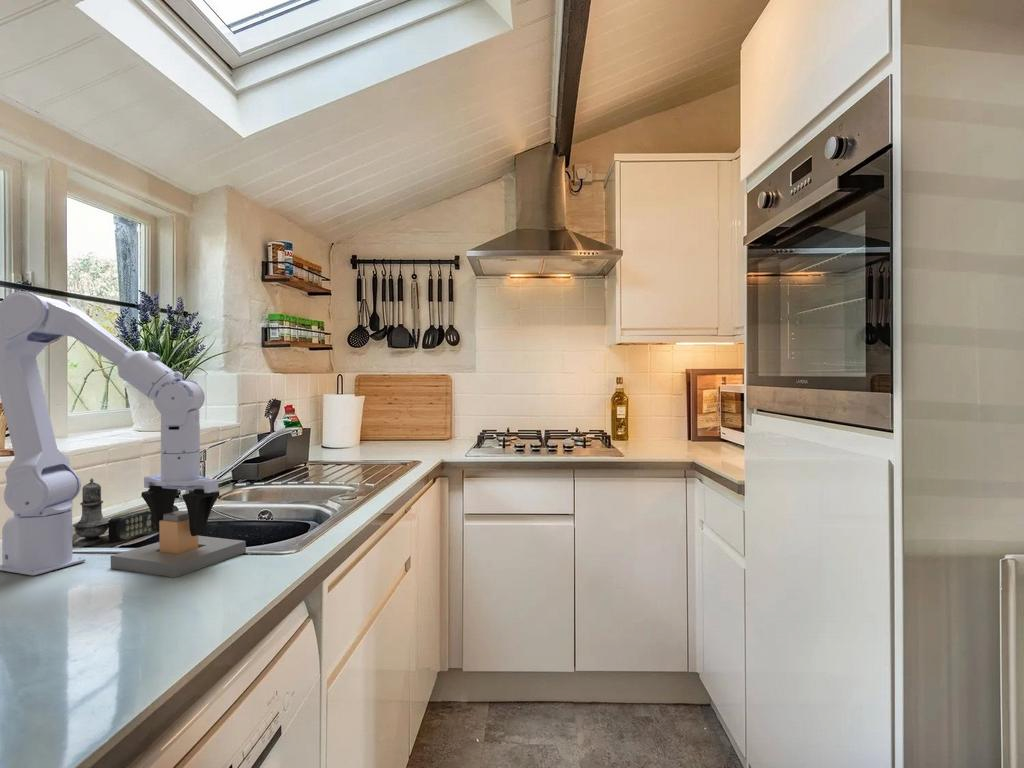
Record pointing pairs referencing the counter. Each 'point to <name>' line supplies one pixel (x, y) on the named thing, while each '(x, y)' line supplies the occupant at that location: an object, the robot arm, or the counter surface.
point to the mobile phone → (132, 525)
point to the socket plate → (177, 557)
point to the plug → (176, 533)
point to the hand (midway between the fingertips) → (180, 532)
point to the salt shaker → (91, 517)
